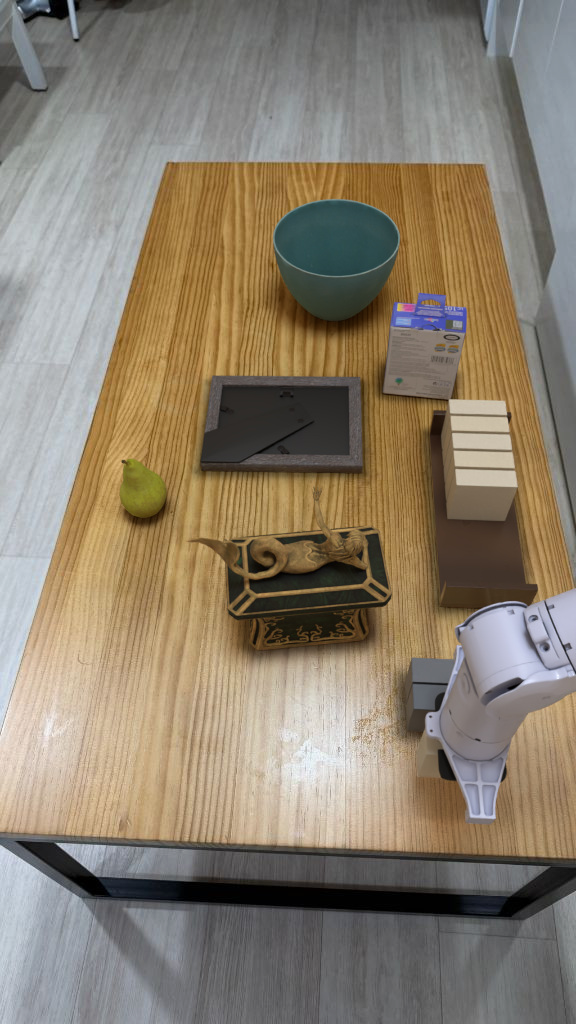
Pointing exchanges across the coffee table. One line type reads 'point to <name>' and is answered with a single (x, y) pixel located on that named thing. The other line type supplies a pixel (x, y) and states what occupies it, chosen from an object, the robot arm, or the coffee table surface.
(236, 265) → the coffee table surface
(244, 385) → the picture frame
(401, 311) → the ink cartridge box
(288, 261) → the teal bowl
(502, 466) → the cream books
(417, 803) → the coffee table surface
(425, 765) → the cream book
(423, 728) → the grey books
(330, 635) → the decorative box
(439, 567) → the book rack
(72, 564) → the coffee table surface
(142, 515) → the fruit
